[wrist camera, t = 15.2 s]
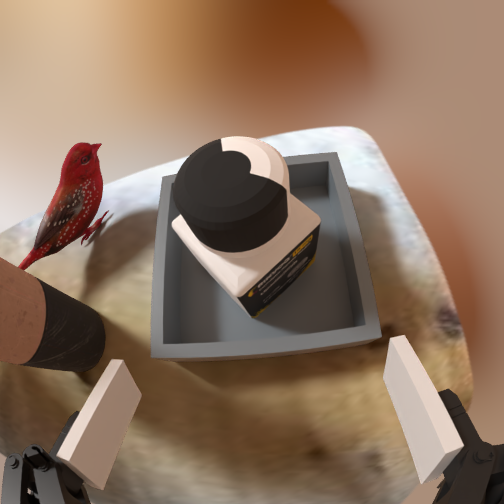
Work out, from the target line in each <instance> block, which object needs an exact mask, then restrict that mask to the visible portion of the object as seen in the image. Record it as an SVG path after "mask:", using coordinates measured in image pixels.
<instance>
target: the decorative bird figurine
mask: <svg viewBox="0 0 504 504" xmlns="http://www.w3.org/2000/svg"><path fill="white" fill-rule="evenodd" d="M101 145H102V144H101V143H100V144H92V145H90V144H89V143H77V144H75V145H74V146H73V147H72V148H71V149H70V151H69V153H68V154H67V156H66V158H65V161H64V163H63V166H62V170H61V178H60V183H59V186H58V188H57V190H56V193H55V195H54V197H53V199H52V201H51V203H50V204H49V206H48V208H47V210H46V212H45V214H44V217H43V219H42V221H41V224H40V227H39V230H38V233H37V236H36V240H35V244H34V248H33V249H32V251H31V252H30V253H29V254H28V256H27V257H26V258H25V259H24V260H23V262H22V263H21V264H20V265H19V266H18V268H20V269H22V270H23V271H24V270H25V269H27V268H28V267H29V266H30V265H31V264H32V263H34V262H35V261H37V260H39V259H41V258H43V257H46V256H49V255H52V254H55V253H57V252H59V251H60V250H61V249H63V248H64V247H65V246H67V245H68V244H70V243H71V242H73V241H75V240H76V239H78V238H79V237H81V236H83V235H84V234H86V235H85V236H84V237H83V238H82V241H81V245H82V243H83V240H84V239H85V238H86V239H85V240H87V239H88V238H89V236H90V235H91V234H92V233H93V232H94V231H95V230H96V229H97V228H98V227H99V226H100V224H101V222H102V220H103V218H104V216H105V215H106V214H107V212H108V211H109V210H108V211H107V212H105V214H104V215H103V217H102V218H100V219H98V220H97V221H96V222H95V223H94V224H93V225H92V226H91V227H89V225H90V224H91V222H92V220H93V219H94V217H95V215H96V213H97V211H98V208H99V205H100V202H101V199H102V192H103V180H102V175H101V172H100V166H99V159H98V156H97V151H98V149H99V147H100V146H101ZM88 227H89V228H88Z"/></svg>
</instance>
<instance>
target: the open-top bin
mask: <svg viewBox="0 0 504 504" xmlns="http://www.w3.org/2000/svg"><path fill="white" fill-rule="evenodd" d="M283 158H284V160H285V162H286V164H287V167H288V172H289V187H290V194H292V195H293V196H294V197H296V198H297V199H298V200H300V201H301V202H302V203H303V204H305V205H306V206H307V207H308V208H310V209H311V210H312V211H313V212H315V213H316V214H317V215H318V216H319V217H320V219H321V223H320V230H319V237H318V244H317V250H316V256H315V261H314V263H313V264H312V265H311V266H310V267H309V268H308V269H307V270H306V271H305V272H304V273H302V274H301V275H300V276H299V277H298V278H297V279H296V280H295V281H294V282H293V283H292V284H291V285H290V286H289V287H288V288H287V289H286V290H285V291H284V292H283V293H282V294H281V295H280V296H279V297H278V298H276V299H275V300H274V301H273V302H272V303H271V304H270V305H269V306H268V307H267V308H266V309H265V310H264V311H263V312H262V313H260V314H259V315H258V316H257V317H256V318H251V317H249V316H248V315H247V314H246V312H245V311H244V310H243V309H242V308H241V307H240V306H239V305H238V304H237V303H236V302H235V301H234V300H233V299H232V298H231V297H230V295H229V294H228V293H227V292H226V291H225V290H224V289H223V288H222V287H221V286H220V285H219V284H218V282H217V281H216V280H215V279H214V278H213V277H212V276H211V275H210V274H209V273H208V271H207V270H206V269H205V268H204V267H203V266H202V265H201V264H200V263H199V261H198V260H197V259H196V257H195V256H194V255H193V254H192V252H191V251H190V250H189V249H188V247H187V246H186V245H185V243H184V242H183V241H182V239H181V238H180V237H179V236H178V234H177V233H176V232H175V230H174V229H173V227H172V222H173V220H174V219H176V218H177V217H178V216H179V215H180V213H179V211H178V209H177V207H176V205H175V202H174V199H173V185H174V181H175V178H176V175H177V174H174V175H169V176H164V177H163V178H162V185H161V192H160V200H159V209H158V218H157V227H156V238H155V249H154V263H153V279H152V300H151V358H155V359H161V360H167V361H173V362H196V361H224V360H242V359H256V358H268V357H279V356H288V355H297V354H306V353H313V352H321V351H328V350H335V349H341V348H347V347H353V346H359V345H364V344H368V343H370V342H372V341H374V340H376V339H379V338H381V337H382V335H381V328H380V322H379V316H378V310H377V305H376V299H375V294H374V289H373V284H372V279H371V274H370V270H369V265H368V261H367V256H366V252H365V248H364V244H363V240H362V236H361V232H360V228H359V224H358V220H357V217H356V213H355V209H354V206H353V202H352V199H351V195H350V192H349V189H348V185H347V182H346V179H345V176H344V173H343V170H342V166H341V163H340V160H339V157H338V154H337V152H331V153H319V154H308V155H298V156H288V157H283Z"/></svg>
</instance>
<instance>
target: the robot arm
mask: <svg viewBox="0 0 504 504" xmlns="http://www.w3.org/2000/svg"><path fill="white" fill-rule="evenodd" d="M383 380H384V382H385V385H386V387H387V390H388V392H389V395H390V397H391V400H392V402H393V405H394V407H395V410H396V413H397V415H398V418H399V421H400V423H401V426H402V429H403V432H404V434H405V437H406V440H407V443H408V446H409V449H410V451H411V454H412V457H413V460H414V463H415V467H416V470H417V473H418V476H419V479H420V482H421V484H424V483H427V482H429V481H432V480H435V479H437V478H438V477H439V476H440V475H441V474H442V473H443V474H444V477H445V478H444V480H443V481H442V482H441V483H440V484H439V485H438V487H437V488H440V489H439V491H438V493H437V496H436V497H435V500H434V501H433V503H432V504H504V444H501V445H493V446H492V445H491V444H489V443H487V442H483V441H482V440H481V439H480V437H479V435H478V433H477V431H476V429H475V427H474V425H473V424H472V422H471V420H470V418H469V416H468V414H467V413H466V411H465V409H464V407H463V406H462V403H461V402H460V400H459V398H458V396H457V395H456V394H455V393H453V392H452V391H451V390H450V389H446V390H443V391H440V392H437V391H436V389H435V387H434V385H433V383H432V382H431V380H430V378H429V376H428V374H427V373H426V371H425V369H424V367H423V366H422V364H421V362H420V360H419V359H418V357H417V355H416V354H415V352H414V350H413V348H412V347H411V345H410V343H409V342H408V340H407V338H406V337H405V335H402V336H397V337H393V338H390V341H389V348H388V354H387V359H386V365H385V370H384V375H383ZM141 397H142V394H141V393H140V391H139V389H138V387H137V385H136V383H135V382H134V380H133V378H132V376H131V374H130V372H129V370H128V368H127V366H126V364H125V362H124V360H116V359H112V360H111V361H110V363H109V364H108V366H107V368H106V369H105V371H104V373H103V374H102V376H101V377H100V379H99V381H98V382H97V384H96V386H95V387H94V389H93V391H92V392H91V394H90V396H89V398H88V399H87V401H86V403H85V404H84V406H83V408H82V410H81V411H80V412H79V411H76V412H75V413H74V414H73V415H72V416H71V417H70V418H69V419H68V421H67V423H66V424H65V427H64V428H63V430H62V433H60V435H59V437H58V439H57V440H56V442H55V444H54V446H53V448H52V450H51V451H50V453H49V455H48V454H47V453H46V452H45V451H44V450H43V449H42V448H41V447H40V446H39V445H36V444H33V445H30V446H28V447H27V448H26V449H25V450H24V452H23V455H22V456H21V455H19V454H17V453H13V454H11V455H9V456H8V457H7V459H6V462H5V467H4V476H3V484H2V497H1V504H91V503H90V500H89V498H88V495H87V492H86V489H85V488H84V486H83V485H82V483H83V481H85V482H86V483H87V484H88V485H89V486H91V487H94V488H97V489H100V490H104V487H105V485H106V482H107V480H108V477H109V474H110V472H111V469H112V467H113V464H114V462H115V459H116V457H117V454H118V452H119V449H120V447H121V444H122V442H123V439H124V437H125V434H126V432H127V430H128V427H129V425H130V422H131V420H132V418H133V415H134V413H135V411H136V408H137V406H138V404H139V401H140V399H141ZM28 488H29V489H30V490H31V494H29V493H27V492H28Z"/></svg>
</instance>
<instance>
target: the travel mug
mask: <svg viewBox="0 0 504 504" xmlns="http://www.w3.org/2000/svg"><path fill="white" fill-rule="evenodd" d="M104 345H105V330H104V326H103V323H102V320H101V318H100V317H99V315H98V314H97V313H96V311H94V310H93V309H92V308H90V307H89V306H87V305H85V304H83V303H81V302H79V301H78V300H76V299H74V298H72V297H70V296H68V295H66V294H64V293H63V292H61V291H59V290H57V289H55V288H54V287H52V286H50V285H48V284H47V283H45V282H43V281H41V280H40V279H38V278H36V277H34V276H33V275H31V274H29V273H27V272H25V271H23V270H22V269H20V268H18V267H16V266H15V265H13V264H11V263H9V262H8V261H6V260H4V259H2V258H1V257H0V361H4V362H8V363H12V364H18V365H23V366H30V367H37V368H44V369H52V370H62V371H73V372H84V371H87V370H89V369H91V368H93V367H94V366H95V365H96V364H97V363H98V361H99V360H100V358H101V356H102V353H103V350H104Z"/></svg>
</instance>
